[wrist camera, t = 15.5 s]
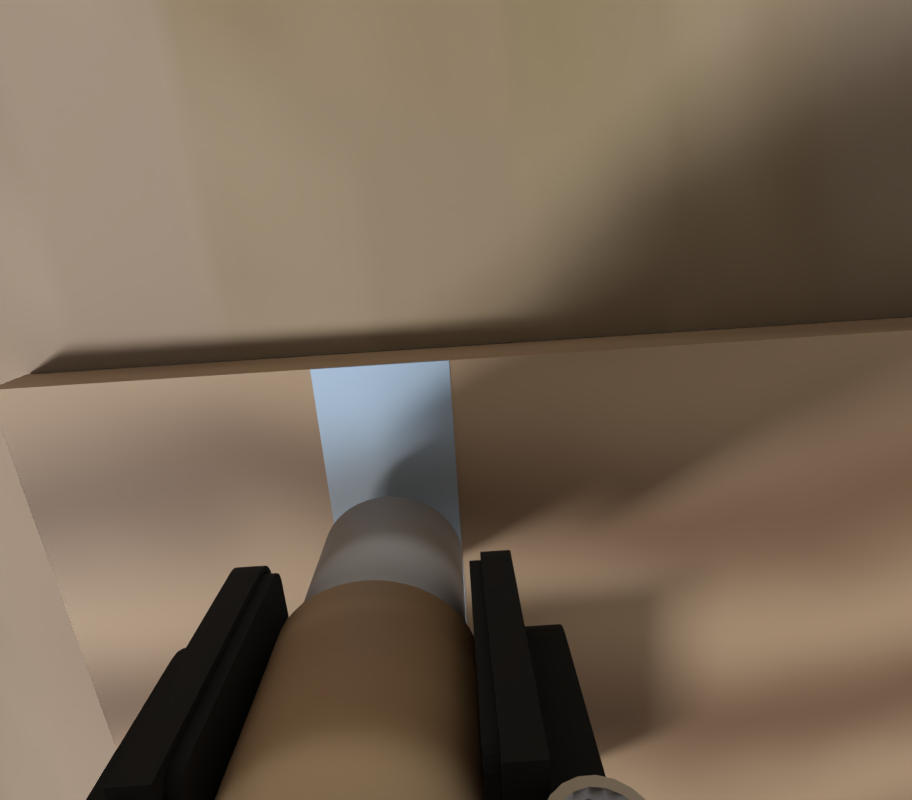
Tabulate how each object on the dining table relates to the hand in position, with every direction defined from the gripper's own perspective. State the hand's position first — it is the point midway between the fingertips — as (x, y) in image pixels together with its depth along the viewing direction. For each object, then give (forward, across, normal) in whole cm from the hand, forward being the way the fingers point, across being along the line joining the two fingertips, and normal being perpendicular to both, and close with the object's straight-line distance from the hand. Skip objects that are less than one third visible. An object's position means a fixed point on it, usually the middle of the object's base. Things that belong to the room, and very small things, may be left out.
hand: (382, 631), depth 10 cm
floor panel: (+5, -6, +6) cm, 10 cm away
